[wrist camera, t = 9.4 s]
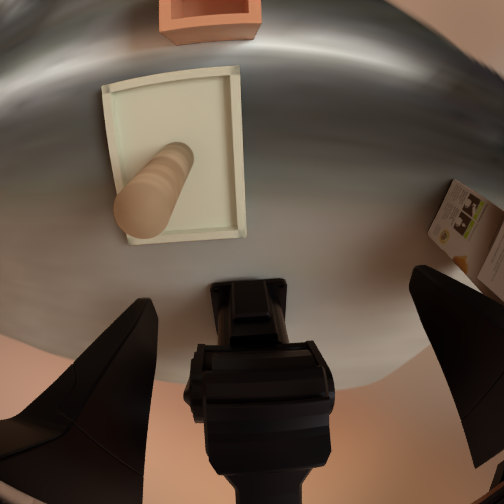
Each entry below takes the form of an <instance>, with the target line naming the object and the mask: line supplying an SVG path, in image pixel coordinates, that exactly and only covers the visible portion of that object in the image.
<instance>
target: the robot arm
mask: <svg viewBox="0 0 504 504" xmlns="http://www.w3.org/2000/svg"><path fill="white" fill-rule="evenodd" d="M279 284H283V285H281V286H279ZM215 288H218V290H215ZM409 291H410V294H411V296H412V299H413V301H414V304H415V307H416V309H417V312H418V315H419V317H420V320H421V323H422V325H423V328H424V330H425V332H426V334H427V336H428V338H429V341H430V343H431V345H432V347H433V349H434V352H435V354H436V356H437V359H438V361H439V363H440V365H441V368H442V371H443V373H444V376H445V378H446V381H447V383H448V386H449V388H450V391H451V394H452V396H453V399H454V402H455V405H456V408H457V410H458V413H459V416H460V419H461V423H462V426H463V429H464V432H465V435H466V439H467V442H468V445H469V449H470V453H471V456H472V460H473V464H474V467H475V469H476V468H478V467H479V466H481V465H482V464H484V463H485V462H487V461H488V460H490V459H491V458H493V457H494V456H496V455H497V454H498V453H500V452H501V451H502V450H504V305H502V304H499V303H498V302H497V301H495V300H493V299H491V298H489V297H487V296H486V295H484V294H482V293H480V292H478V291H476V290H474V289H472V288H470V287H468V286H467V285H465V284H463V283H461V282H459V281H457V280H455V279H453V278H451V277H449V276H447V275H445V274H443V273H441V272H439V271H437V270H435V269H433V268H431V267H429V266H426V265H418V266H415V267H414V269H413V272H412V275H411V279H410V283H409ZM210 292H211V299H212V305H213V312H214V318H215V324H216V330H217V335H218V345H205V344H198V347H197V352H195V353H194V358H193V359H191V369H190V377H189V380H188V382H187V385H186V388H185V390H184V395H183V397H184V401H185V402H186V403H187V404H188V405H189V406H190V407H191V411H192V413H193V417H194V421H195V423H204V433H205V447H206V453H207V455H208V457H209V462H210V464H211V465H212V467H213V468H214V470H215V471H216V473H217V474H218V475H224V477H225V478H226V479H227V480H228V481H229V483H230V484H231V485H232V486H233V487H234V488H235V495H236V504H302V483H303V482H304V480H305V479H306V477H307V476H308V474H309V473H310V471H311V470H312V468H316V467H321V466H324V465H325V464H326V462H327V460H328V457H329V455H330V453H331V442H330V430H329V415H330V414H331V412H332V410H333V406H334V401H335V388H334V381H333V377H332V373H331V371H330V369H329V367H328V365H327V364H326V362H325V360H324V358H323V357H322V355H321V353H320V351H319V350H318V348H317V346H316V345H315V343H314V341H306V342H302V343H289V340H288V335H287V331H286V326H285V312H286V294H287V284H286V281H285V280H284V279H269V280H253V281H238V282H224V283H213V284H212V285H211V288H210ZM157 338H158V316H157V313H156V311H155V308H154V305H153V303H152V300H151V299H150V298H138V299H137V300H136V301H135V302H134V303H133V304H132V305H130V306H129V307H128V308H127V309H126V310H125V311H124V312H123V313H122V314H121V315H120V316H119V317H118V318H117V319H116V320H115V321H114V322H113V323H112V324H111V325H110V326H109V327H108V328H107V329H106V330H105V331H104V332H103V333H102V334H101V335H100V336H99V337H98V338H97V339H96V340H95V341H94V342H93V343H92V344H91V345H90V346H89V347H88V348H87V349H86V350H85V351H84V352H83V353H82V354H81V355H80V356H79V357H78V358H77V359H76V360H75V361H74V363H73V364H71V365H70V367H69V368H68V369H67V370H66V371H65V372H64V373H63V374H62V375H61V376H60V377H59V378H58V379H57V380H56V381H55V382H54V383H53V384H52V385H50V386H49V387H48V388H47V389H46V390H45V391H44V392H43V393H42V394H41V395H40V396H38V397H37V398H36V399H35V400H34V401H33V402H32V403H31V404H30V405H28V406H27V407H26V408H25V409H24V410H23V411H22V412H21V413H19V414H18V415H16V416H14V417H12V418H9V419H5V420H0V504H142V499H143V498H142V497H143V476H144V464H145V451H146V440H147V431H148V420H149V413H150V405H151V397H152V389H153V382H154V375H155V369H156V360H157ZM471 504H504V460H503V461H502V462H501V463H499V464H498V466H497V469H496V473H495V475H494V478H493V481H492V484H491V487H490V490H489V492H488V493H486V494H485V495H483V496H482V497H481V498H479V499H477V500H476V501H474V502H473V503H471Z"/></svg>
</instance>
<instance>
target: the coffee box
mask: <svg viewBox="0 0 504 504" xmlns="http://www.w3.org/2000/svg"><path fill="white" fill-rule="evenodd" d="M428 236H429V237H430V238H431V239H432V240H433V241H434V242H435V243H436V244H437V245H438V246H439V247H440V249H441V250H443V251H444V252H445V253H446V254H447V255H448V256H449V257H450V258H451V259H452V261H453V262H454V263H455V264H456V265H457V266H458V267H459V268H460V269H461V270H462V271H463V272H464V273H465V274H466V275H467V277H468V278H469V279H470V280H471V281H472V282H473V283H474V284H475V285H476V287H477V288H478V289H479V290H480V291H481V292H482V293H483V294H484V295H486V296H487V297H489V298H491V299H493V300H495V301H497V302H498V303H499V304H502V305H504V211H503V210H502V209H500V208H499V207H498V206H496V205H495V204H493V203H492V202H490V201H489V200H487V199H486V198H484V197H483V196H481V195H479V194H478V193H476V192H475V191H473V190H472V189H470V188H468V187H467V186H465V185H464V184H462V183H460V182H459V181H457V180H456V179H454V180H453V181H452V183H451V186H450V188H449V190H448V192H447V194H446V196H445V199H444V201H443V203H442V205H441V207H440V209H439V211H438V213H437V215H436V217H435V219H434V221H433V223H432V225H431V227H430V229H429V231H428Z"/></svg>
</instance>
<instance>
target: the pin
mask: <svg viewBox="0 0 504 504" xmlns="http://www.w3.org/2000/svg"><path fill="white" fill-rule="evenodd" d="M193 163H194V154H193V152H192V150H191V148H190V147H189V146H188V145H186V144H184V143H182V142H172V143H169V144H168V145H166V146H165V147H164V148H163V149H162V150H161V151H160V152H159V153H157V154H156V155H155V156H154V157H153V158H152V159H151V160H150V161H149V162H148V163H147V164H146V165H145V166H144V167H143V168H142V169H141V170H140V171H139V172H138V173H137V174H136V175H135V176H134V177H133V178H132V179H131V180H130V182H129V183H128V184H127V185H126V186H125V187H124V188H123V189H122V190H121V191H120V192H119V193H118V195H117V196H116V198H115V201H114V205H113V213H114V217H115V220H116V222H117V224H118V226H119V227H120V228H121V229H122V230H123V231H124V232H125V233H126V234H128V235H130V236H132V237H135V238H138V239H150V238H153V237H156V236H157V235H159V234H160V233H162V232H163V231H164V229H165V228H166V226H167V224H168V222H169V219H170V217H171V214H172V212H173V210H174V207H175V205H176V202H177V200H178V198H179V195H180V193H181V191H182V188H183V186H184V184H185V181H186V179H187V177H188V175H189V172H190V170H191V168H192V166H193Z"/></svg>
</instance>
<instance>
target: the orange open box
mask: <svg viewBox="0 0 504 504" xmlns="http://www.w3.org/2000/svg"><path fill="white" fill-rule="evenodd" d="M261 24H262V18H261V0H159V32H160V33H161V34H163V35H164V36H165V37H167V38H168V39H169V40H170V41H172V42H173V43H174V44H175V45H184V44H192V43H201V42H212V41H226V40H254V38H255V36H256V34H257V32H258V30H259V28H260V26H261Z"/></svg>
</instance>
